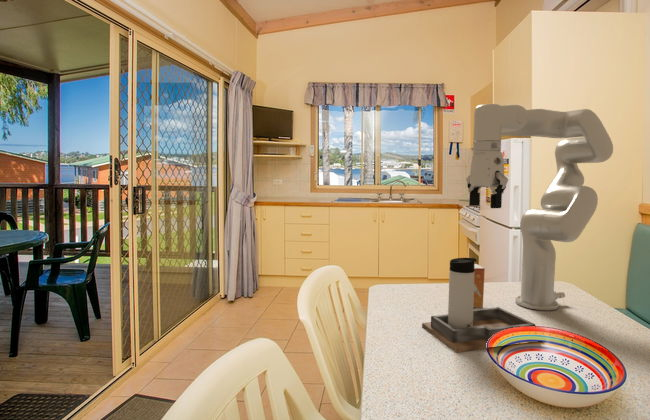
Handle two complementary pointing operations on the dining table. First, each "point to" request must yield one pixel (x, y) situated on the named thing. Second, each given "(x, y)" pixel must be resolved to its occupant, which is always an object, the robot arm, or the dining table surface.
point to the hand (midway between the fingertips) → (484, 206)
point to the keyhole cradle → (474, 328)
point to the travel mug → (461, 293)
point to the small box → (478, 285)
